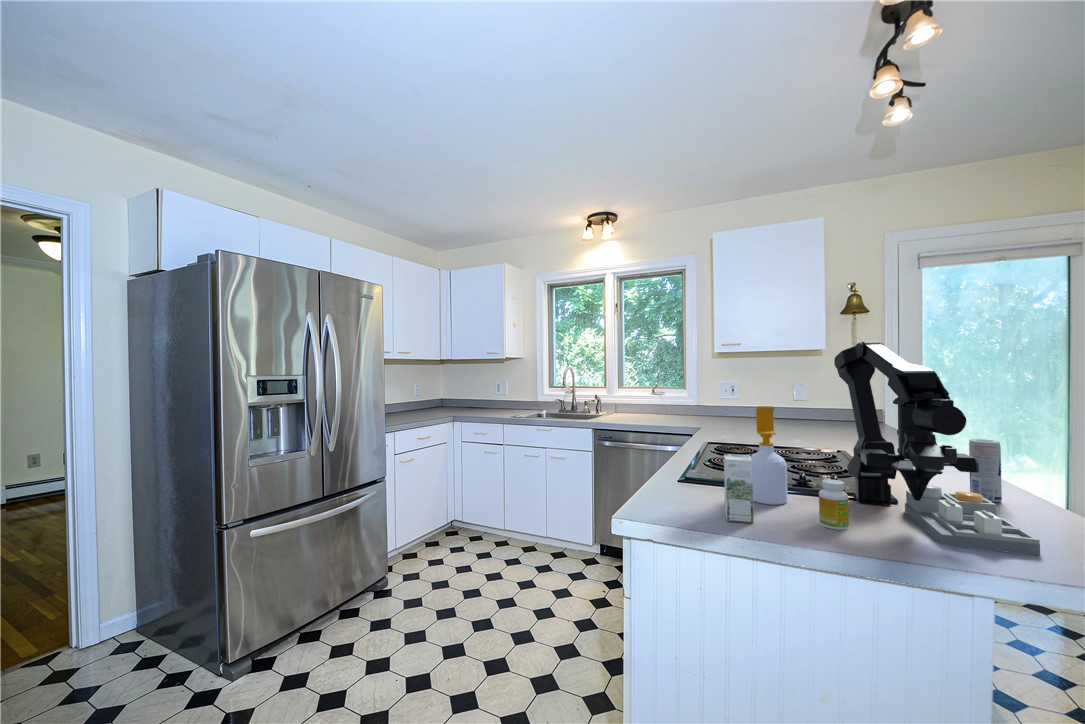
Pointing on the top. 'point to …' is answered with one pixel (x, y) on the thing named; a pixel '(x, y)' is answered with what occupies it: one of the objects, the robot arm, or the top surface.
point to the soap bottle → (768, 463)
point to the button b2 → (968, 496)
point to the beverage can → (986, 469)
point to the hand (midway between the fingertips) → (916, 500)
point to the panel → (969, 526)
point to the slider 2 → (987, 523)
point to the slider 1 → (950, 511)
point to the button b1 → (932, 492)
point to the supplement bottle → (833, 505)
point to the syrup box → (738, 488)
